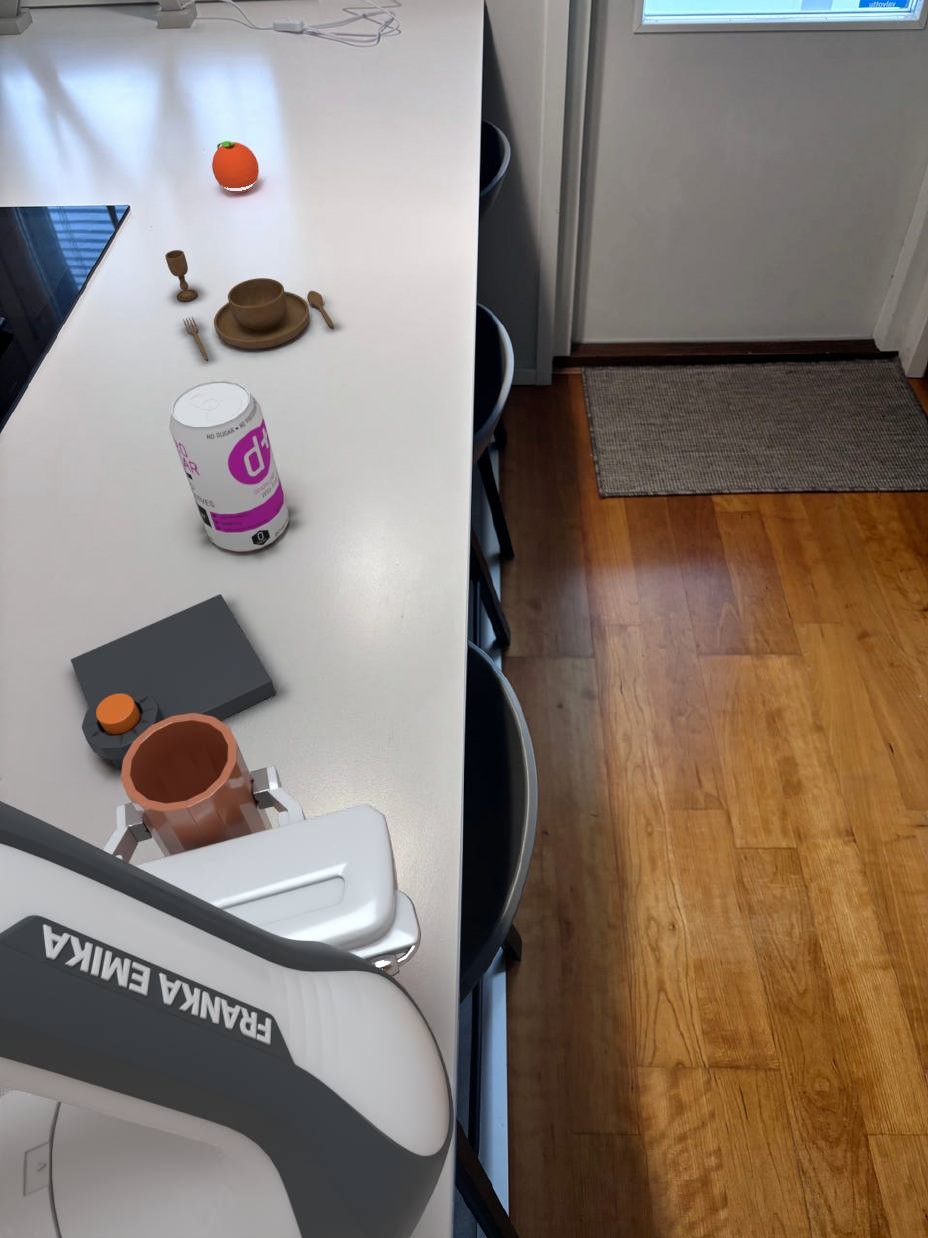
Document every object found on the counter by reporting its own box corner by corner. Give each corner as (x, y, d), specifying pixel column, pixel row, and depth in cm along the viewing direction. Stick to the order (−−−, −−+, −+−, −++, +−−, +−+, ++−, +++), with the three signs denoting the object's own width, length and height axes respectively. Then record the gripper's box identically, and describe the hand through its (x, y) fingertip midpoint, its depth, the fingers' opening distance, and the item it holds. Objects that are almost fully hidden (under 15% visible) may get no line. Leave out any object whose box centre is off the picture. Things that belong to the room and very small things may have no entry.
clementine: (206, 189, 148) (193, 142, 142) (243, 174, 151) (232, 127, 145) (234, 204, 144) (222, 156, 138) (272, 188, 147) (261, 141, 141)
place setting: (206, 371, 114) (192, 327, 110) (170, 295, 127) (157, 253, 122) (343, 331, 118) (335, 287, 114) (295, 261, 131) (286, 220, 126)
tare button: (108, 741, 75) (101, 729, 74) (98, 715, 77) (91, 703, 75) (145, 724, 76) (139, 712, 75) (133, 698, 77) (127, 687, 76)
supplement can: (306, 516, 96) (275, 391, 85) (253, 567, 91) (213, 442, 80) (246, 490, 99) (208, 366, 88) (191, 538, 95) (144, 414, 83)
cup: (194, 915, 56) (141, 831, 48) (161, 835, 60) (107, 745, 52) (290, 864, 58) (253, 775, 50) (252, 789, 61) (213, 696, 54)
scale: (109, 784, 76) (94, 760, 73) (67, 677, 84) (52, 652, 81) (280, 701, 80) (272, 676, 78) (225, 607, 88) (216, 581, 85)
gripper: (424, 939, 45) (366, 714, 54) (-19, 1068, 42) (-2, 808, 51) (434, 989, 50) (380, 774, 59) (36, 1107, 47) (43, 862, 56)
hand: (199, 790), depth 55 cm, fingers closed on cup, 6 cm apart
